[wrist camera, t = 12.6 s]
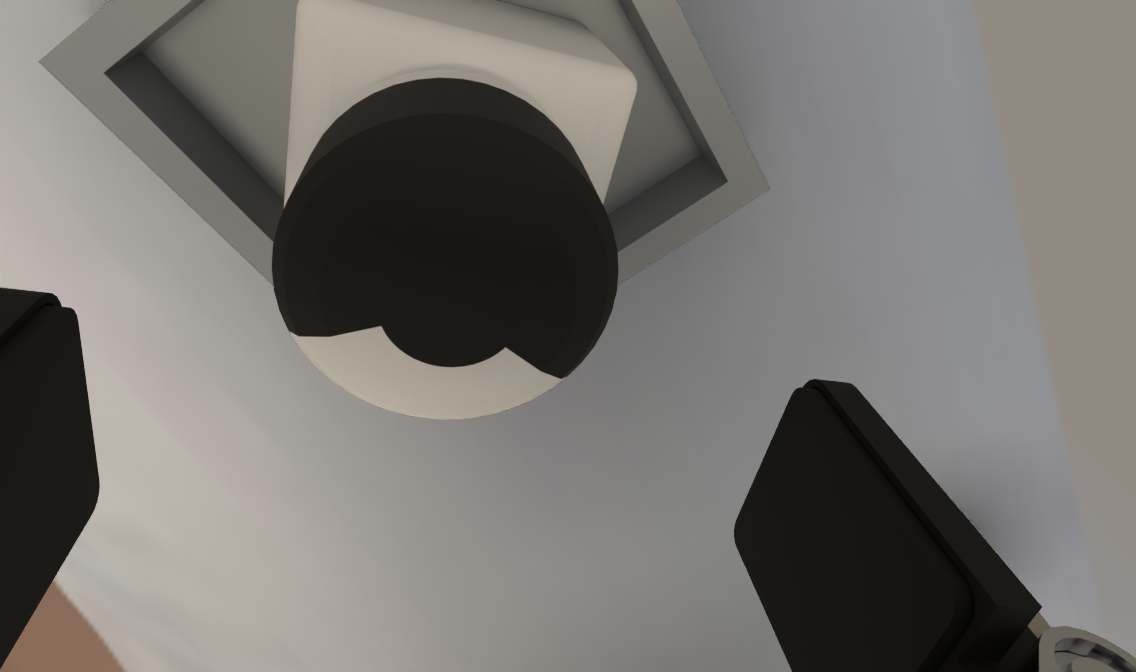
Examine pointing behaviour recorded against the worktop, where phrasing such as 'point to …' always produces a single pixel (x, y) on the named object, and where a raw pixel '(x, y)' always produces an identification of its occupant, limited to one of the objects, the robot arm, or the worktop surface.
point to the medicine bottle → (448, 200)
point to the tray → (263, 96)
